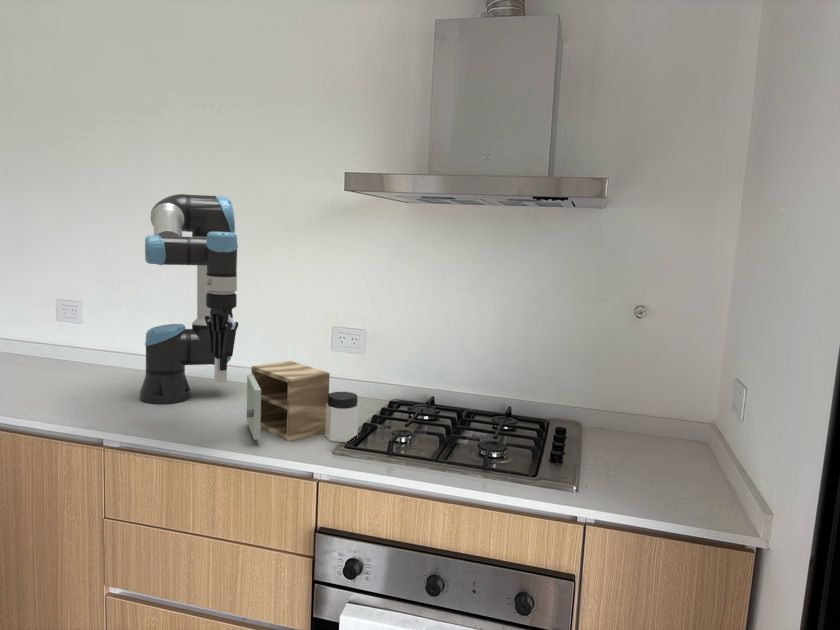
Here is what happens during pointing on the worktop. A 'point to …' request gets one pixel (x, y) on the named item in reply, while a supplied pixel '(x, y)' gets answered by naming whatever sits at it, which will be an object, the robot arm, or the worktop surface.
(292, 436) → the cabinet
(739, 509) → the worktop surface
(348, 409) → the jar
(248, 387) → the door
